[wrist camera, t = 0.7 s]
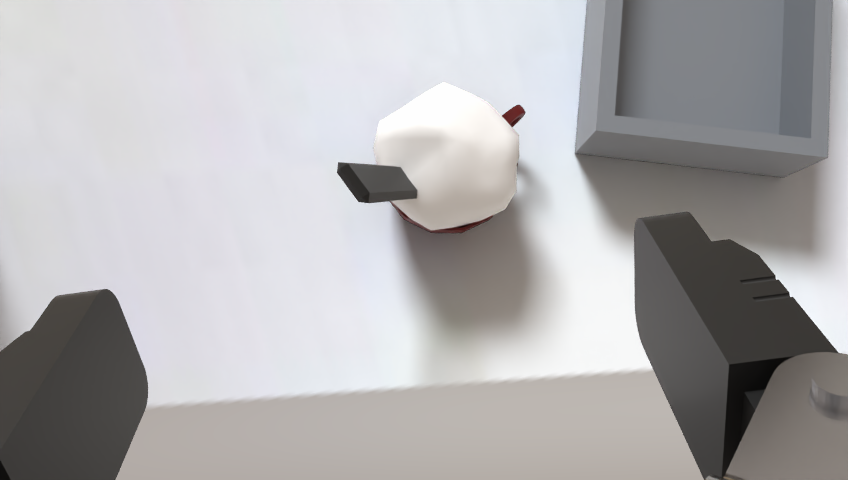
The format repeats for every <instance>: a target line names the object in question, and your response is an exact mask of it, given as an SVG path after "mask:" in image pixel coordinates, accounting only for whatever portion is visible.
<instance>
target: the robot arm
mask: <svg viewBox="0 0 848 480" xmlns="http://www.w3.org/2000/svg"><path fill="white" fill-rule="evenodd" d="M634 262H635V314H636V322H637V327H638V332H639V336H640V339H641V343H642V345H643V348H644V350H645V352H646V354H647V356H648V359H649V361H650V363H651V365H652V367H653V370H654V372H655V374H656V376H657V378H658V380H659V383H660V385H661V387H662V389H663V391H664V393H665V395H666V398H667V400H668V402H669V404H670V406H671V409H672V411H673V413H674V415H675V417H676V419H677V421H678V424H679V426H680V428H681V430H682V432H683V435H684V437H685V439H686V441H687V443H688V445H689V448H690V450H691V452H692V454H693V456H694V458H695V461H696V463H697V465H698V467H699V469H700V472H701V474H702V476H703V478H704V480H848V355H847V354H842V353H838V352H837V350H836V349H835V348H834V347H833V346H832V344H831V343H830V342H829V341H828V339H827V338H826V337H825V336H824V335H823V333H822V332H821V331H820V330H819V328H818V327H817V326H816V325H815V324H814V322H813V321H812V320H811V319H810V317H809V316H808V315H807V314H806V313H805V311H804V310H803V309H802V308H801V306H800V305H799V304H798V303H797V302H796V300H795V299H794V298H793V297H790V296H789V292H788V291H787V289H786V288H785V287H784V286H783V284H782V283H781V282H780V281H779V280H776V278H775V275H774V273H773V272H772V271H771V270H770V268H769V267H768V266H767V265H766V264H765V262H764V261H763V260H762V259H761V257H760V256H759V255H757V254H756V253H754V252H752V251H750V250H748V249H747V248H745V247H743V246H741V245H739V244H737V243H736V242H734V241H732V240H730V239H728V240H721V241H713V242H711V240H710V239H709V238H708V236H707V235H706V234H705V232H704V231H703V229H702V228H701V227H700V225H699V224H698V223H697V221H696V220H695V219H694V217H693V216H692V215H691V214H690V213H689V212H683V213H675V214H668V215H660V216H653V217H645V218H639V219H637V221H636V223H635V230H634ZM147 398H148V382H147V376H146V371H145V368H144V365H143V363H142V360H141V358H140V355H139V353H138V350H137V348H136V345H135V342H134V340H133V337H132V335H131V332H130V330H129V327H128V325H127V322H126V319H125V317H124V314H123V312H122V309H121V307H120V304H119V302H118V300H117V298H116V296H115V295H114V294H113V293H112V292H111V291H110V290H108V289H102V290H95V291H88V292H80V293H73V294H65V295H59V296H56V297H55V298H54V299H53V300H52V301H51V302H50V304H49V305H48V307H47V308H46V309H45V311H44V312H43V314H42V315H41V316H40V318H39V319H38V321H37V322H36V323H35V325H34V326H33V328H32V329H31V330H30V331H27V332H25V333H23V334H22V335H21V336H20V337H18V338H17V339H16V340H15V341H13V342H12V343H11V344H9V345H8V346H7V347H6V348H4V349H3V350H2V351H1V352H0V480H115V479H116V477H117V475H118V472H119V470H120V468H121V465H122V463H123V460H124V458H125V455H126V453H127V451H128V449H129V446H130V444H131V441H132V439H133V436H134V435H135V432H136V430H137V427H138V425H139V423H140V420H141V418H142V416H143V413H144V411H145V408H146V404H147Z"/></svg>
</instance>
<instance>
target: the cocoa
mask: <svg viewBox="0 0 848 480" xmlns="http://www.w3.org/2000/svg"><path fill="white" fill-rule="evenodd" d="M524 115H525V111H524V109H523V107H521V106H520V105H516V106H515V107H513V108H512V109H510V110H509V111H507V112H506V113H505V114H503V115H502V116H501V115H500V114H499V113H498V112H497V111H496V109H495V108H494V107H493V106H492V105H491V104H490V103H489V102H487V101H485V100H483V99H481V98H479V97H477V96H475V95H473V94H471V93H469V92H466V91H464V90H462V89H459V88H457V87H455V86H452V85H450V84H448V83H445V82H443V83H441V84H439V85H437V86H435V87H434V88H432V89H430V90H428V91H426V92H425V93H423V94H422V95H420V96H419V97H417V98H416V99H414V100H413V101H411V102H410V103H408V104H407V105H405V106H404V107H402V108H401V109H399V110H397V111H396V112H394V113H392V114H391V115H389V116H387V117H386V118H384V119H382V120H381V121H379V125H378V129H377V134H376V138H375V142H374V147H373V149H374V154H375V159H376V164H377V165H370V164H355V163H340V162H338V169H337V173H338V175H339V176H340V177H341V179H342V180H343V181H344V183H345V184H346V185H347V187H348V188H349V190H350V191H351V192H352V194H353V195H354V196H355V198H356V199H357V200H358V202H364V203H375V202H385V201H390V203H391V204H392V205H393V206H394V208H395V209H396V210H397V211H398V213H399V214H400V215H401V216H402V218H403V219H404V220H406V221H408V222H410V223H412V224H414V225H416V226H418V227H420V228H422V229H424V230H426V231H429V232H431V233H463V232H465V231H467V230H469V229H471V228H473V227H475V226H478V225H480V224H482V223H484V222H486V221H488V220H489V219H491V218H492V217H493V215H494V214H496V213H499V212H501V211H503V210H505V209H506V207H507V206H508V204H509V202H510V201H511V199H512V198H513V196H514V194H515V193H516V185H517V165H518V163H517V162H518V159H519V135H518V134H517V132H516V131H515V130H514V129H513V128H512V127H513V126H514V125H515V124H516V123H517V122H518V121H519V120H520V119H521V118H522V117H523V116H524Z"/></svg>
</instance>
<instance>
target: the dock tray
mask: <svg viewBox="0 0 848 480" xmlns="http://www.w3.org/2000/svg"><path fill="white" fill-rule="evenodd" d="M831 34H832V0H587V7H586V19H585V32H584V44H583V57H582V69H581V82H580V94H579V107H578V119H577V132H576V144H575V153H577V154H585V155H594V156H603V157H611V158H620V159H628V160H637V161H646V162H654V163H663V164H672V165H680V166H689V167H697V168H706V169H715V170H723V171H732V172H741V173H749V174H758V175H766V176H775V177H786V176H788V175H790V174H792V173H795V172H797V171H799V170H801V169H803V168H806V167H808V166H810V165H812V164H815V163H817V162H819V161H821V160H823V159H826V158H828V135H829V101H830V67H831Z"/></svg>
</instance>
